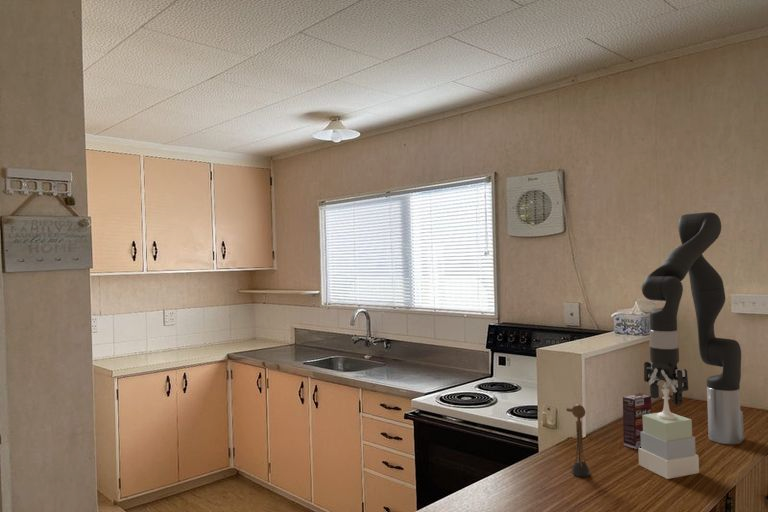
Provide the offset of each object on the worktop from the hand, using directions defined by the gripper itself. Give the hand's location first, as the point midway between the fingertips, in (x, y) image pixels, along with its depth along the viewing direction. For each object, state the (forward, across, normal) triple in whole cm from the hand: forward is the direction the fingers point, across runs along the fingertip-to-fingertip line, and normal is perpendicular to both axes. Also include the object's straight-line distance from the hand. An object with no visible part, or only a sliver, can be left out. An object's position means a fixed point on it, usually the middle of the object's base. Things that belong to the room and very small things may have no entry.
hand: (665, 401), depth 164 cm
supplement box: (+20, +19, -6) cm, 28 cm away
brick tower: (+20, 0, 0) cm, 20 cm away
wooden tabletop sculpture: (+20, +7, +25) cm, 33 cm away
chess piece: (+5, 0, 0) cm, 5 cm away
